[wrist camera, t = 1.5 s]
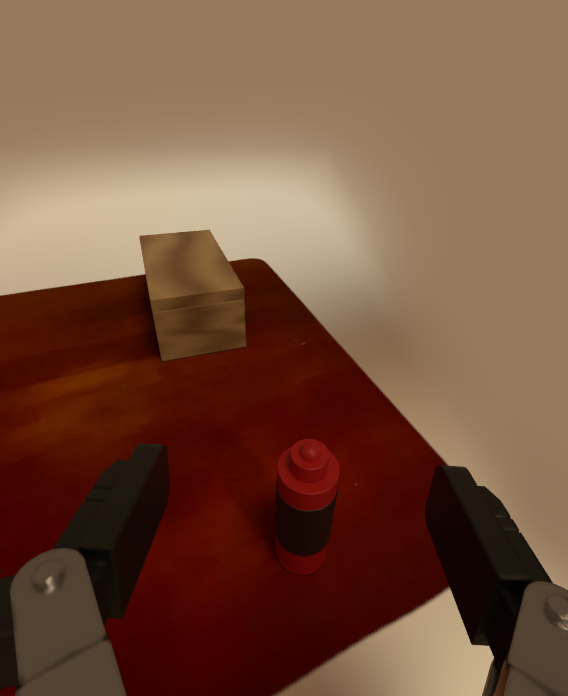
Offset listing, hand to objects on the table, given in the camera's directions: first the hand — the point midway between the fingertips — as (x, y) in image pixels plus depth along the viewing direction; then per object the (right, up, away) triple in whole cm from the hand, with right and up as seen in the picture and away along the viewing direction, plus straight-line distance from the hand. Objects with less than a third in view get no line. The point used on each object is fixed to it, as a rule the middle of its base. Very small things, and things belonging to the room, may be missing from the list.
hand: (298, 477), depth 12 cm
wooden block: (-13, +9, +43) cm, 46 cm away
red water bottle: (+1, -10, +16) cm, 19 cm away
